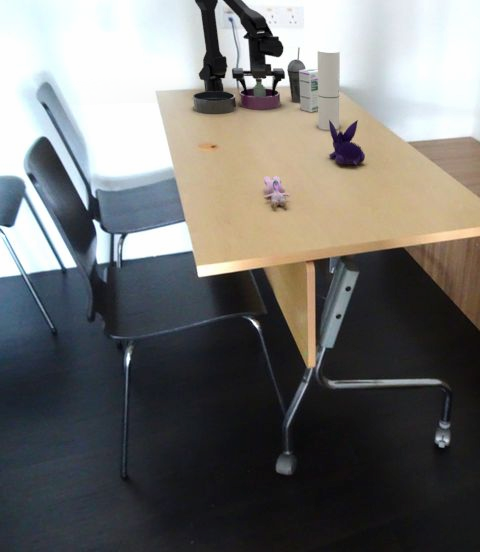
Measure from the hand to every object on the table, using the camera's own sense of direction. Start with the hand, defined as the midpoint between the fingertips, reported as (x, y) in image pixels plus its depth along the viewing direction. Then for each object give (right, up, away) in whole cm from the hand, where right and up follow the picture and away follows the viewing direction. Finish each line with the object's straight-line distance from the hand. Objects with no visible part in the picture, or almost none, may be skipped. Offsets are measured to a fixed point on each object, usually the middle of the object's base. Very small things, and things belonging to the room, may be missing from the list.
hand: (260, 97), depth 212 cm
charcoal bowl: (-15, -7, -6) cm, 17 cm away
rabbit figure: (+22, -48, -71) cm, 88 cm away
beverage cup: (+12, +2, +12) cm, 17 cm away
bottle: (0, -2, +1) cm, 3 cm away
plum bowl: (0, -3, +2) cm, 3 cm away
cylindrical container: (+28, -16, -16) cm, 36 cm away
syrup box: (+19, -4, +2) cm, 19 cm away
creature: (+36, -33, -44) cm, 66 cm away
